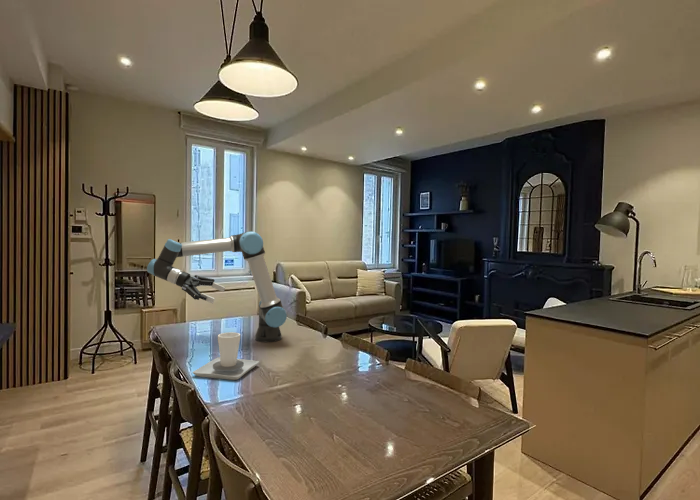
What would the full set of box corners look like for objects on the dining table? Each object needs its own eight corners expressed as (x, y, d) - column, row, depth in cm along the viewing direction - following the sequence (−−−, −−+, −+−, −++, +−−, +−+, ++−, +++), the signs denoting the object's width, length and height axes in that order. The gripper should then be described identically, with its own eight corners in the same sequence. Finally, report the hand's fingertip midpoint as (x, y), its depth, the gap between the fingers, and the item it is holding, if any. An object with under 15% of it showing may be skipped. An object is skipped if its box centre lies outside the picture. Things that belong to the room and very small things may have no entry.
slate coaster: (236, 359, 177) (236, 357, 177) (248, 367, 167) (248, 365, 167) (208, 365, 169) (208, 363, 169) (219, 373, 159) (219, 371, 159)
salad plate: (238, 384, 156) (238, 376, 156) (191, 379, 160) (191, 371, 160) (259, 367, 176) (260, 360, 176) (217, 363, 180) (217, 356, 180)
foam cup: (243, 361, 172) (243, 332, 172) (235, 368, 163) (235, 338, 163) (222, 360, 173) (223, 332, 173) (213, 367, 164) (214, 337, 163)
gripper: (189, 275, 203) (226, 291, 204) (164, 294, 179) (206, 312, 180) (193, 263, 200) (230, 279, 202) (168, 281, 177) (211, 299, 178)
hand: (219, 295), depth 191 cm, fingers open, 13 cm apart
